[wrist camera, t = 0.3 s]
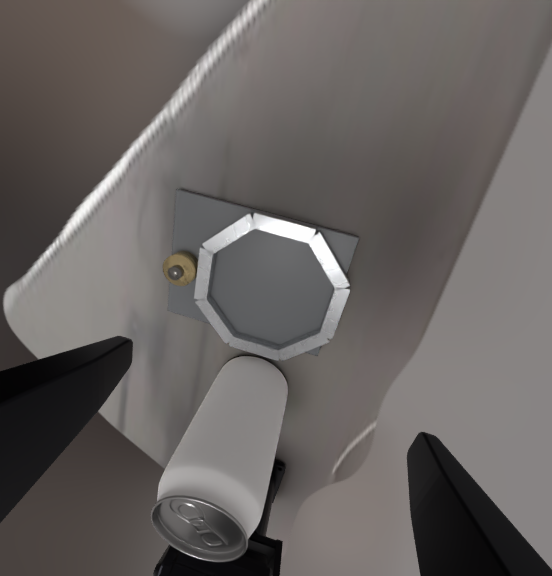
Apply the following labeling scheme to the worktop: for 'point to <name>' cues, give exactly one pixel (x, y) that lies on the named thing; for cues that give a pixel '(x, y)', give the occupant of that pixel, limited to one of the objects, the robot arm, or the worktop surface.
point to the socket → (287, 230)
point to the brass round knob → (181, 268)
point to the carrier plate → (256, 272)
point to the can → (223, 464)
